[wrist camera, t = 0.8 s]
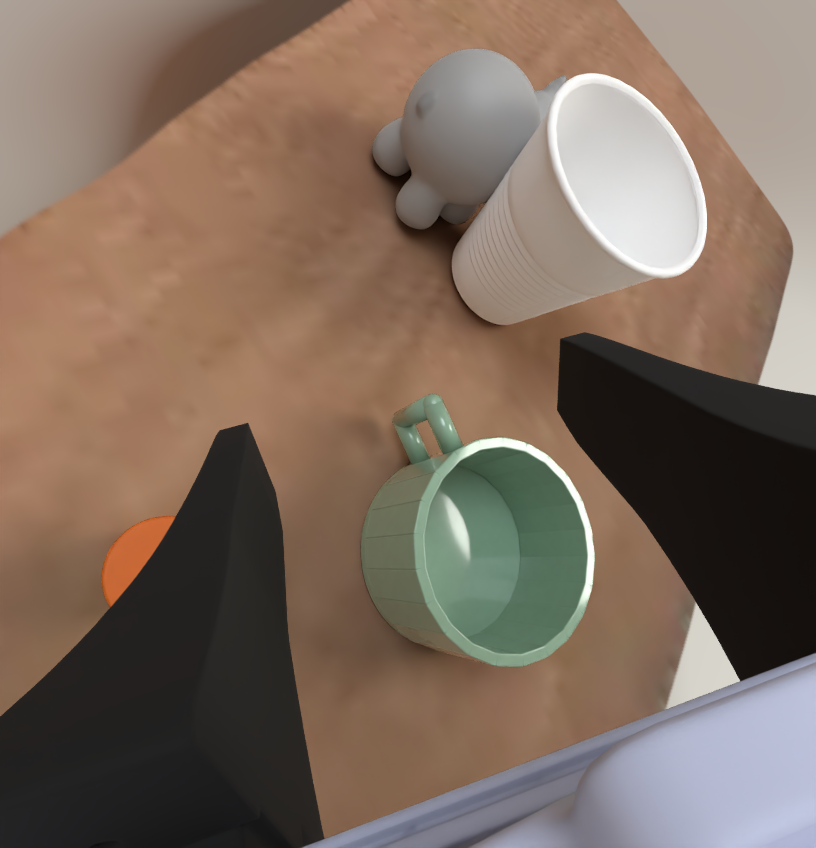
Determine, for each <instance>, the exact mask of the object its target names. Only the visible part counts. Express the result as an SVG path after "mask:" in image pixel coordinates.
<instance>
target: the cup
mask: <svg viewBox="0 0 816 848" xmlns="http://www.w3.org/2000/svg"><path fill="white" fill-rule="evenodd" d="M706 232H707V211H706V204H705V197H704V193H703V190H702V186H701V182H700V179H699V176H698V174H697V171H696V168H695V166H694V163H693V161H692V159H691V157H690V155H689V153H688V151H687V149H686V147H685V145H684V144H683V142H682V140H681V139H680V137H679V136H678V134H677V133H676V131H675V130H674V128H673V127H672V126H671V124H670V123H669V122H668V121H667V119H666V118H665V117H664V116H663V114H662V113H661V112H660V111H659V110H658V109H657V108H656V107H655V106H654V105H653V104H652V103H651V102H650V101H649V100H648V99H647V98H646V97H644V96H643V95H642V94H640V93H639V92H638V91H637V90H635V89H634V88H632V87H631V86H629V85H627V84H625V83H623V82H622V81H620V80H618V79H615V78H612V77H609V76H606V75H603V74H593V73H588V74H583V75H578V76H575V77H573V78H572V79H570V80H568V81H567V82H565V83H564V84H563V85H562V86H561V87H560V88H559V90H558V91H557V92H556V93H555V95H554V97H553V100H552V103H551V105H550V108H549V110H548V113H547V115H546V116H545V118H544V119H543V121H542V122H541V124H540V125H539V126H538V128H537V129H536V131H535V132H534V134H533V135H532V137H531V138H530V139H529V141H528V142H527V144H526V145H525V147H524V148H523V150H522V151H521V152H520V154H519V155H518V157H517V158H516V160H515V161H514V163H513V165H512V166H511V167H510V169H509V171H508V172H507V173H506V174H505V176H504V178H503V180H502V181H501V182H500V183H499V186H498V187H497V188H496V189H495V191H494V193H493V194H492V195H491V196H490V198H489V199H488V200H487V202H486V203H485V205H484V206H483V207H482V209H481V210H480V212H479V213H478V215H477V216H476V217H475V219H474V221H473V222H472V223H471V224H470V226H469V227H468V229H467V230H466V232H465V233H464V234H463V236H462V237H461V239H460V240H459V242H458V243H457V245H456V247H455V249H454V252H453V256H452V274H453V279H454V282H455V285H456V287H457V290H458V292H459V293H460V295H461V297H462V299H463V300H464V301H465V303H466V304H467V305H468V307H469V308H470V309H471V310H472V311H473V312H475V313H476V314H477V315H478V316H480V317H481V318H483V319H484V320H487V321H489V322H491V323H494V324H498V325H511V324H515V323H518V322H521V321H524V320H527V319H530V318H534V317H537V316H539V315H542V314H545V313H548V312H551V311H554V310H558V309H560V308H564V307H566V306H570V305H572V304H576V303H579V302H582V301H585V300H587V299H592V298H594V297H597V296H601V295H603V294H607V293H611V292H614V291H617V290H620V289H623V288H626V287H629V286H632V285H636V284H639V283H642V282H645V281H648V280H651V279H654V278H670V277H674V276H678V275H680V274H682V273H683V272H685V271H687V270H688V269H690V268H691V266H692V265H693V264H694V263H695V262H696V260H697V259H698V258H699V256H700V254H701V251H702V249H703V247H704V243H705V238H706Z"/></svg>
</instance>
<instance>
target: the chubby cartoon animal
mask: <svg viewBox="0 0 816 848" xmlns="http://www.w3.org/2000/svg"><path fill="white" fill-rule="evenodd" d="M566 79H567V78H566V76H561V77H559V78H557V79H555V80H554V81H552V82H551V83H550V84H549V85H548V86H547V87H546V88H545V89H544V90H542V91H534V89H533V87H532V85H531V83H530V82H529V80H528V78H527V77H526V75H525V74H524V73H523V71H522V70H521V69H520V68H519V67H518V66H517V65H516V64H515V63H513V62H512V61H511V60H509V59H508V58H506V57H505V56H503V55H501V54H498V53H496V52H493V51H490V50H485V49H465V50H460V51H456V52H453V53H450V54H448V55H446V56H444V57H442V58H441V59H439V60H438V61H436V62H435V63H434V64H432V65H431V66H430V67H429V68H428V69H427V70H426V71H425V72H424V73H423V74H422V75H421V77H420V78H419V79H418V80H417V82H416V84H415V85H414V87H413V89H412V91H411V93H410V95H409V97H408V100H407V102H406V106H405V109H404V114H403V117H401V118H398V119H396V120H394V121H392V122H390V123H389V124H387V125H386V126H385V127H384V128H383V129H382V130H381V131H380V132H379V133H378V134H377V136H376V138H375V140H374V142H373V146H372V153H373V157H374V159H375V161H376V163H377V164H378V165H379V167H380V168H381V169H382V170H383V171H385V172H386V173H388V174H389V175H392V176H400V175H403V174H405V173H406V172H408V171H409V170H410V169H411V171H412V175H411V177H410V179H409V180H408V181H407V182H406V183H405V185H404V186H403V187H402V189H401V190H400V192H399V193H398V196H397V199H396V212H397V215H398V217H399V218H400V219H401V221H402V222H404V223H405V224H406V225H408V226H410V227H412V228H415V229H426V228H428V227H430V226H431V225H432V224H433V223H434V222H435V221H436V220H437V218H438V216H439V215H440V216H441V217H442V218H443V219H445V220H446V221H448V222H450V223H452V224H461V223H464V222H465V221H467V220H468V219H469V218H470V217H471V216H472V215H473V214H474V213H475V211H476V210H477V208H478V206H479V204H481V203H485V202H487V200H488V199H489V198H490V196H491V195H492V194H493V193H494V191H495V189H496V188H497V187H498V186H499V183H500V182H501V181H502V180H503V178H504V176H505V174H506V173H507V172H508V171H509V169H510V167H511V166H512V165H513V163H514V161H515V160H516V158H517V157H518V155H519V154H520V152H521V151H522V150H523V148H524V147H525V145H526V144H527V142H528V141H529V139H530V138H531V137H532V135H533V134H534V132H535V131H536V129H537V128H538V126H539V125H540V124H541V122H542V121H543V119H544V118H545V116H546V115H547V113H548V110H549V108H550V105H551V103H552V100H553V97H554V95H555V93H556V92H557V91H558V90H559V88H560V87H561V86H562V85H563V84H564V83H565V82H566Z"/></svg>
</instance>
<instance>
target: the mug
mask: <svg viewBox="0 0 816 848" xmlns="http://www.w3.org/2000/svg"><path fill="white" fill-rule="evenodd" d="M425 420H428V422H429V425H430V427H431V429H432V431H433V433H434V436H435V438H436V440H437V442H438V445H439V447H440V449H441V451H442V452H439V453H436V454H433V455H430V456H429V454H428V451H427V449H426V447H425V445H424V443H423V440H422V438H421V436H420V434H419V431H418V429H417V427H416V425H417V424H419V423H421V422H423V421H425ZM392 422H393V425H394V427H395V429H396V432H397V434H398V436H399V438H400V441H401V443H402V445H403V447H404V449H405V452H406V454H407V456H408V458H409V460H410V463H411V464H408V465H407V466H405V467H403V468H401V469H400V470H398V471H397V472H396V473H395V474H393V475H392V476H391V477H390V478H389V479H388V480H387V481H386V482H385V483H384V484H383V485H382V487H381V488H380V490H379V491H378V493H377V494H376V495H375V497H374V499H373V501H372V503H371V505H370V507H369V510H368V513H367V515H366V518H365V522H364V526H363V530H362V539H361V562H362V571H363V575H364V579H365V583H366V586H367V589H368V591H369V594H370V597H371V599H372V600H373V602H374V604H375V606H376V608H377V610H378V611H379V612H380V614H381V615H382V617H383V618H384V619H385V620H386V621H387V622H388V624H389V625H390V626H391V627H392V628H393V629H394V630H396V631H397V632H398V633H399V634H401V635H402V636H404V637H405V638H407V639H409V640H410V641H412V642H414V643H417V644H420V645H422V646H425V647H428V648H431V649H433V650H437V651H440V652H444V653H448V654H451V655H455V656H459V657H462V658H466V659H470V660H473V661H477V662H481V663H484V664H488V665H492V666H496V667H522V666H526V665H529V664H531V663H534V662H536V661H539V660H542V659H544V658H547V657H548V656H550V655H551V654H552V653H553V652H554V651H555V650H557V649H558V648H559V647H560V646H561V645H562V644H563V643H565V642H566V641H567V640H568V639H569V638H570V636H571V634H572V633H573V631H574V630H575V628H576V626H577V625H578V623H579V622H580V620H581V618H582V617H583V614H584V612H585V609H586V606H587V603H588V599H589V596H590V593H591V590H592V586H593V575H594V563H595V553H594V544H593V536H592V528H591V525H590V522H589V519H588V516H587V513H586V510H585V507H584V504H583V501H582V500H581V497H580V495H579V493H578V492H577V490H576V488H575V487H574V485H573V483H572V482H571V480H570V478H569V477H568V475H567V474H566V473H565V472H564V471H563V470H562V469H561V468H560V467H559V466H558V465H557V463H556V462H555V461H554V460H553V459H552V458H551V457H550V456H548V455H547V454H545V453H544V452H542V451H540V450H539V449H537V448H535V447H534V446H532V445H530V444H529V443H526V442H523V441H519V440H515V439H510V438H506V437H494V438H485V439H478V440H474V441H471V442H469V443H466V444H462V441H461V439H460V437H459V435H458V432H457V430H456V428H455V426H454V424H453V421H452V419H451V417H450V415H449V413H448V410H447V408H446V406H445V404H444V402H443V400H442V398H441V397H440V396H439V395H437V394H429V395H427V396H425V397H423V398H421V399H419V400H417V401H416V402H414V403H412V404H410V405H408V406H406V407H404V408H402V409H401V410H399V411H397V412H396V413H395V414H394V415H393V418H392Z"/></svg>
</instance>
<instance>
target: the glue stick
mask: <svg viewBox="0 0 816 848" xmlns="http://www.w3.org/2000/svg"><path fill="white" fill-rule="evenodd" d="M174 519H175V517H174V516H162V517H155V518H151V519H147V520H145V521H142V522H140V523H138V524H136V525H134V526H132V527H131V528H129V529H128V530H127V531H125V532H124V533H123V534H122V535H121V536H120V537H119V538H118V539H117V540H116V541H115V543H114V544H113V545H112V547H111V548H110V550H109V552H108V554H107V556H106V559H105V561H104V565H103V569H102V588H103V593H104V596H105V599H106V601H107V603H108V604H109V606H110V607H111V606H112V605H113V604H114V603H115V601H116V600H117V599H118V598H119V597H120V595H121V594H122V593H123V592H124V591H125V590H126V588H127V587H128V586H129V585H130V584H131V582H132V581H133V580H134V579H135V577H136V576H137V575H138V573H139V572H140V571H141V569H142V568H143V567H144V565H145V564H146V562H147V561H148V560H149V558H150V557H151V555H152V554H153V552H154V551H155V550H156V548H157V546H158V545H159V543H160V542H161V540H162V539H163V537H164V536H165V534H166V532H167V531H168V529H169V527H170V526H171V524H172V522H173V520H174Z"/></svg>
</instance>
